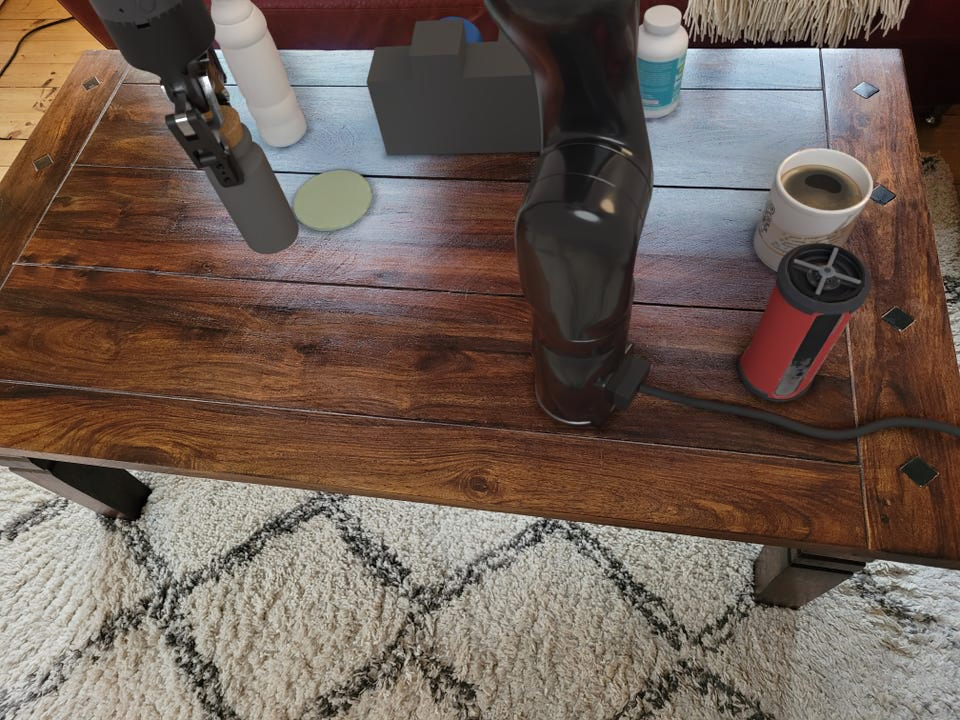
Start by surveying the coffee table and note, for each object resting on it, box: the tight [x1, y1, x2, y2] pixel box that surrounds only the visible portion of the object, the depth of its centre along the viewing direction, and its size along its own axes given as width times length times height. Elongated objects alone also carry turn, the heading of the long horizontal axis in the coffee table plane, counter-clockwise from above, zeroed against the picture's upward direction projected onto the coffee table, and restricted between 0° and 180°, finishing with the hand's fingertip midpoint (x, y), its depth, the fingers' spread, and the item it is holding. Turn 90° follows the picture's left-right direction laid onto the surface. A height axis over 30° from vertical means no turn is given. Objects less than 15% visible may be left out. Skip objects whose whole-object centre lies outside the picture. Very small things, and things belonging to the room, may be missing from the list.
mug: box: [752, 147, 874, 273], centre depth 79 cm, size 10×12×11 cm
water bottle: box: [210, 0, 308, 148], centre depth 93 cm, size 7×7×25 cm
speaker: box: [737, 243, 872, 403], centre depth 67 cm, size 8×8×18 cm
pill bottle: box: [638, 4, 689, 119], centre depth 93 cm, size 8×7×14 cm
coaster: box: [292, 169, 373, 232], centre depth 95 cm, size 11×11×1 cm
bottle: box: [203, 105, 300, 255], centre depth 68 cm, size 6×6×15 cm
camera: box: [365, 16, 541, 157], centre depth 95 cm, size 25×16×16 cm, turn 86°
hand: (233, 159), depth 65 cm, fingers closed on bottle, 5 cm apart
